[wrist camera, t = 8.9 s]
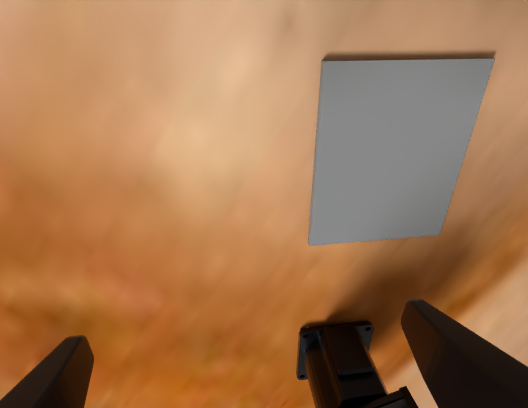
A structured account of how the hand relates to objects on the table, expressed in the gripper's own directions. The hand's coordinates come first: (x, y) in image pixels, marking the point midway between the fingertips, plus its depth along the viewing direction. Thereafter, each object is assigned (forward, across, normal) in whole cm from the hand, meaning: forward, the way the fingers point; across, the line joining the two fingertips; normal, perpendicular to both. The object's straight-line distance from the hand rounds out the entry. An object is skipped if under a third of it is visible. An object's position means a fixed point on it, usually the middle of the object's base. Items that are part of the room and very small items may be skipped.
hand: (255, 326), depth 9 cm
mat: (+12, -10, 0) cm, 16 cm away
